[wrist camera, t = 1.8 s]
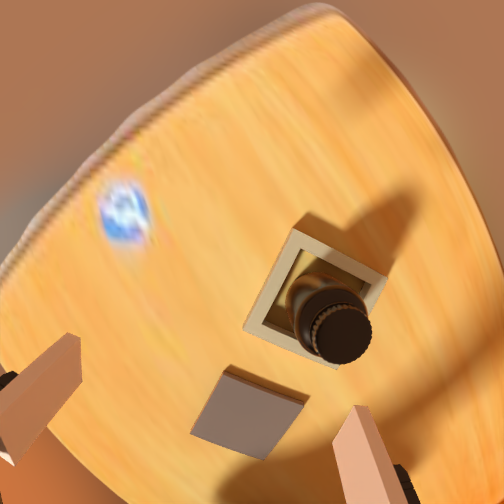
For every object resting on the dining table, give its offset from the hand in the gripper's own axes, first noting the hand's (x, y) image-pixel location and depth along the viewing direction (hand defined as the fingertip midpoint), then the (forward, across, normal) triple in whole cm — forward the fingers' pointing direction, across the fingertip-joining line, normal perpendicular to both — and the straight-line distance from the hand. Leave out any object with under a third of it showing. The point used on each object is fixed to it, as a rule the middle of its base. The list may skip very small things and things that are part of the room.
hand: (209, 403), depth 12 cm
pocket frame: (+21, -9, +1) cm, 23 cm away
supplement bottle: (+22, -9, +1) cm, 23 cm away
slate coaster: (+20, -5, +19) cm, 27 cm away
